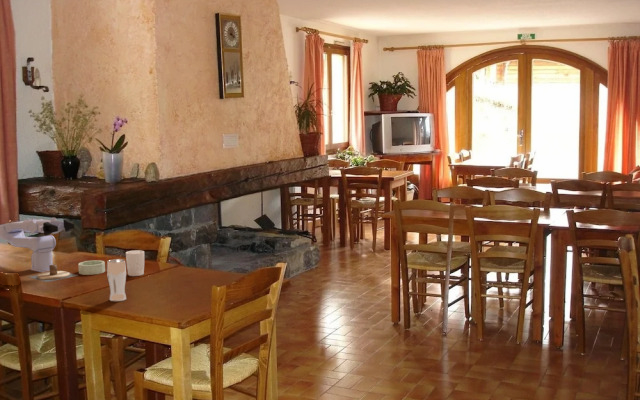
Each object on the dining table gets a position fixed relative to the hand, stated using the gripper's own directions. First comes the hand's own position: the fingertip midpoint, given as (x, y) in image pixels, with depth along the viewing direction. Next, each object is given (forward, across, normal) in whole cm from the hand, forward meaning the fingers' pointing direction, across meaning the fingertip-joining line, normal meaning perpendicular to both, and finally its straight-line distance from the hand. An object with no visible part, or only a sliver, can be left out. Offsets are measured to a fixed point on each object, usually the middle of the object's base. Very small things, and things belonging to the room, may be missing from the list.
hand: (65, 227), depth 308 cm
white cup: (+19, +20, +24) cm, 36 cm away
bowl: (+1, +10, +22) cm, 24 cm away
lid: (-5, -5, +21) cm, 22 cm away
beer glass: (+48, -10, +25) cm, 55 cm away
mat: (-5, -5, +21) cm, 22 cm away
